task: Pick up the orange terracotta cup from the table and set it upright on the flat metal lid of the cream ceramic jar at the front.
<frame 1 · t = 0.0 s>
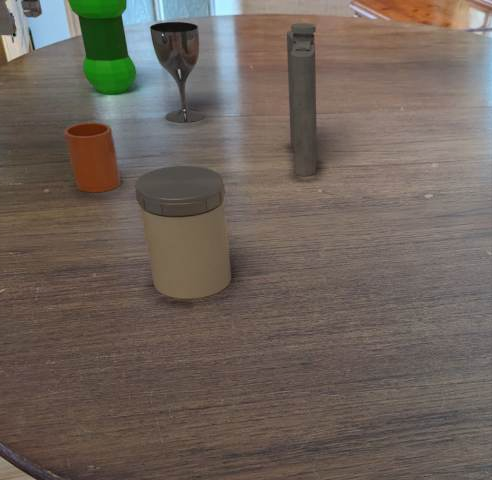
hand: (21, 24, 86), 23 cm above the table, tool pointing down, fingers open, 8 cm apart
hip flask: (305, 158, 118), on the table
jar: (192, 279, 86), on the table
jar lid: (180, 186, 79), point 12 cm above the table, screwed on, not yet turned
cup: (98, 184, 107), on the table
wine glass: (185, 117, 132), on the table
plastic bottle: (113, 91, 143), on the table
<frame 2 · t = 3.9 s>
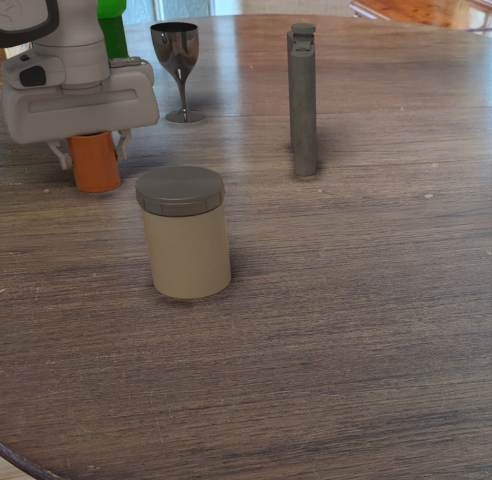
hand: (94, 163, 105), 3 cm above the table, tool pointing down, fingers closed on cup, 6 cm apart
cup: (98, 184, 107), on the table, touching gripper
everything else where it was.
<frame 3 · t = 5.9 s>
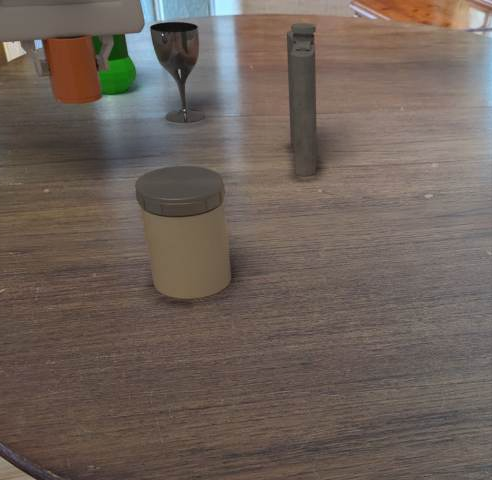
hand: (73, 72, 97), 16 cm above the table, tool pointing down, fingers closed on cup, 6 cm apart
cup: (78, 97, 99), point 12 cm above the table, touching gripper
everything else where it was.
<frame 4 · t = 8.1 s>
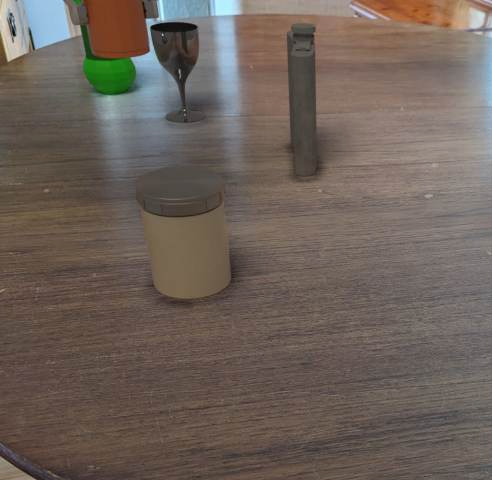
hand: (115, 20, 79), 26 cm above the table, tool pointing down, fingers closed on cup, 6 cm apart
cup: (121, 51, 81), point 22 cm above the table, touching gripper
everything else where it was.
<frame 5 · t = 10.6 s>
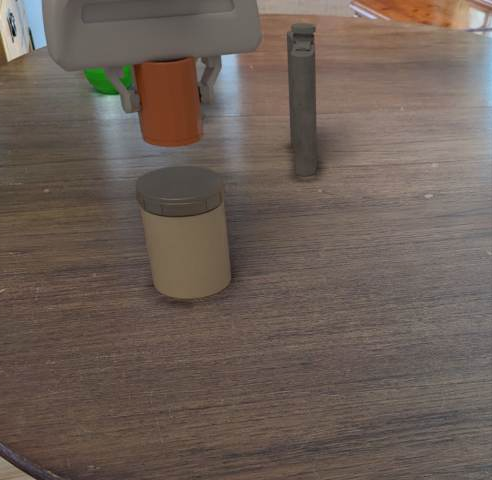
hand: (169, 106, 74), 20 cm above the table, tool pointing down, fingers closed on cup, 6 cm apart
cup: (173, 136, 76), point 17 cm above the table, touching gripper
everything else where it was.
when the fingers open (15 cm above the table, at t = 12.6 s): cup stays where it is, resting on jar lid.
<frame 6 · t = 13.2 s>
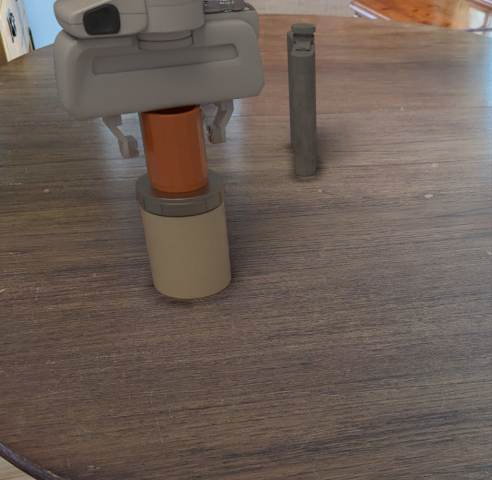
hand: (174, 148, 76), 16 cm above the table, tool pointing down, fingers open, 8 cm apart
jar lid: (180, 186, 79), point 12 cm above the table, screwed on, not yet turned, touching cup
cup: (179, 181, 78), point 12 cm above the table, touching jar lid
everything else where it was.
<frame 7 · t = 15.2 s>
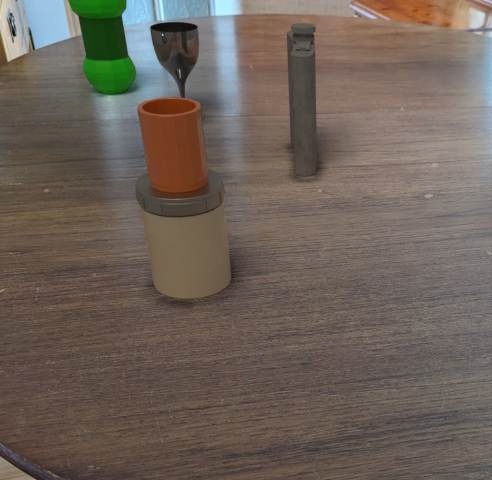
nothing on the table moved.
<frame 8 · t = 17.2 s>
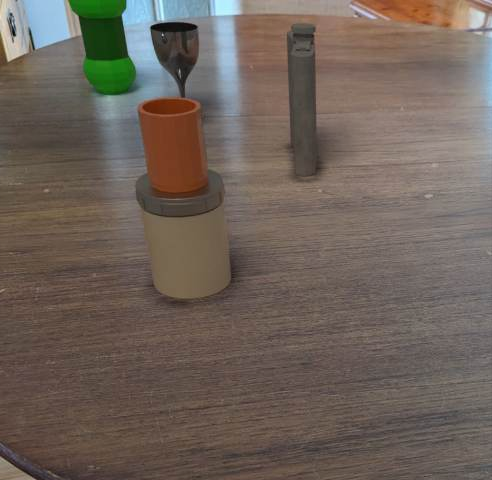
nothing on the table moved.
at the end: cup 0.1 cm off-centre on the jar, point 12.1 cm above the jar's base; cup tilted 0°; the gripper is holding nothing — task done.
